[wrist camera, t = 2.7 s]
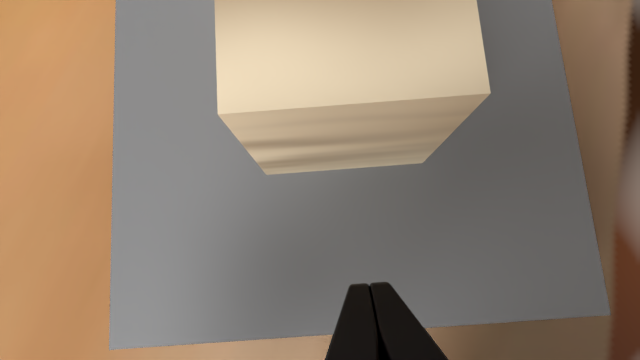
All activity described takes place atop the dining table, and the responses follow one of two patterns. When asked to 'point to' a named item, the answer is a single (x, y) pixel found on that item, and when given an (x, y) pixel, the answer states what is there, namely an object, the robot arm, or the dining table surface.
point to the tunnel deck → (341, 200)
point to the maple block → (346, 79)
